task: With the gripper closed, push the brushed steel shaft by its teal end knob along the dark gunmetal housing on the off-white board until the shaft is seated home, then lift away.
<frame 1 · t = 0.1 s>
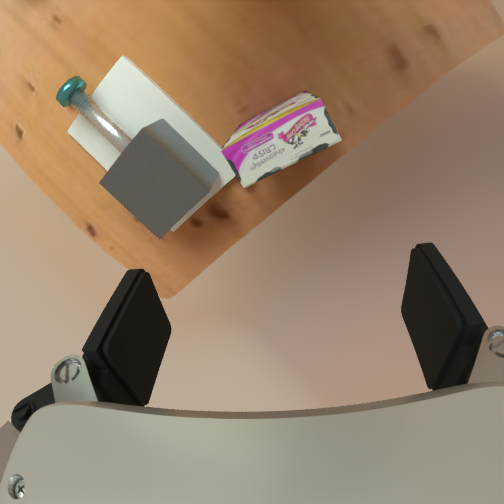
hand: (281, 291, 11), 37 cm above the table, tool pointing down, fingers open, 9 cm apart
shaft housing: (170, 165, 46), resting on mounting board
candy bar box: (278, 119, 42), on the table
mounting board: (148, 144, 45), on the table
steel shaft: (115, 134, 39), point 5 cm above the table, slide at 7.0 cm
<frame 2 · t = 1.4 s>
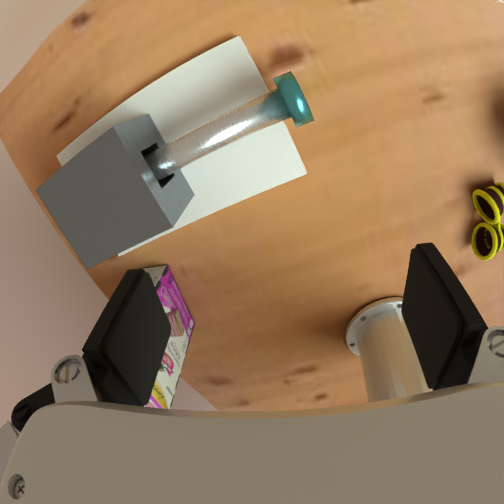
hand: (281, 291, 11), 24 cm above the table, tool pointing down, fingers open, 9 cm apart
shaft housing: (134, 175, 34), resting on mounting board
candy bar box: (169, 295, 44), on the table
mounting board: (167, 155, 33), on the table
steel shaft: (187, 148, 27), point 5 cm above the table, slide at 7.0 cm
opera glasses: (483, 213, 33), on the table
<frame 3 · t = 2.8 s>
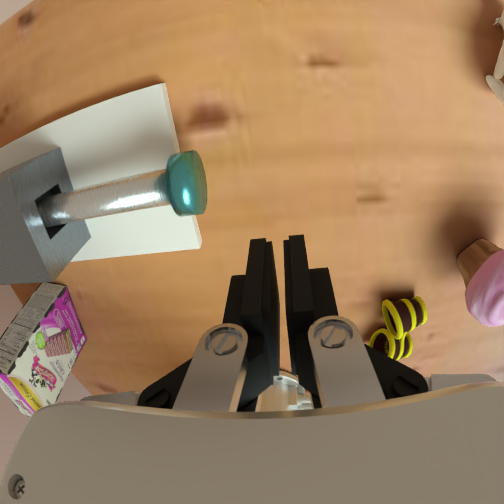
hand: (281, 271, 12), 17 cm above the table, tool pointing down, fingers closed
cupcake: (473, 254, 30), on the table
shaft housing: (44, 199, 30), resting on mounting board
white figurine: (503, 58, 18), on the table
candy bar box: (66, 310, 39), on the table
mounting board: (74, 190, 29), on the table
steel shaft: (78, 204, 24), point 5 cm above the table, slide at 7.0 cm
opera glasses: (392, 318, 36), on the table
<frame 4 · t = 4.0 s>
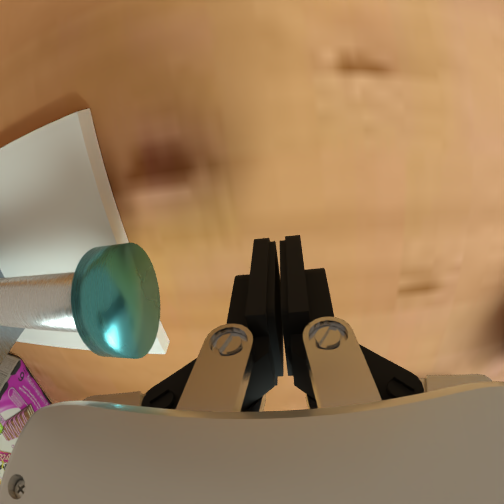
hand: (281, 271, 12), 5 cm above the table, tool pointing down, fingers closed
candy bar box: (28, 379, 29), on the table
mounting board: (2, 261, 19), on the table
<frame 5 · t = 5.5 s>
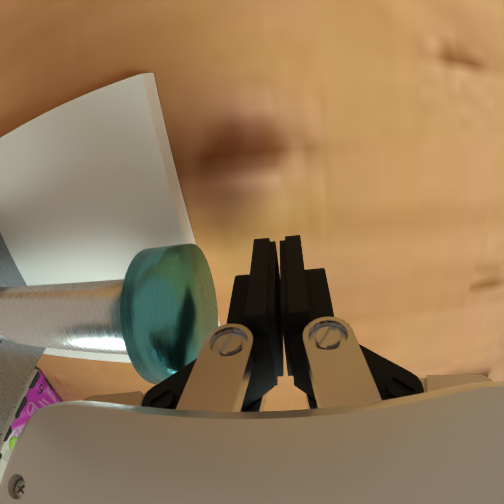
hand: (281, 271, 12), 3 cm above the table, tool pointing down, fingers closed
candy bar box: (46, 389, 27), on the table
mounting board: (21, 262, 17), on the table
steel shaft: (2, 314, 12), point 5 cm above the table, slide at 5.7 cm, touching gripper
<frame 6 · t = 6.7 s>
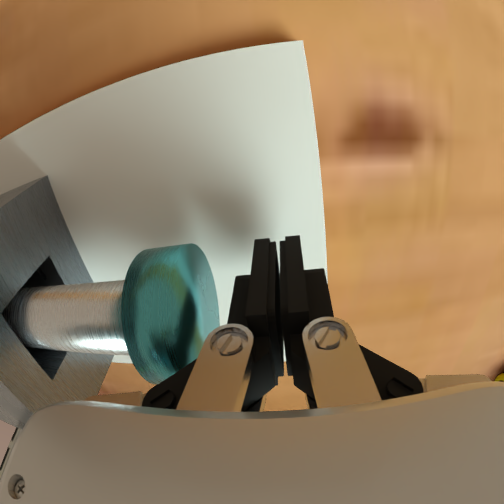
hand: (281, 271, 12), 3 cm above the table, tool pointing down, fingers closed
shaft housing: (30, 263, 17), resting on mounting board
mounting board: (82, 255, 16), on the table
steel shaft: (3, 316, 12), point 5 cm above the table, slide at -0.2 cm, touching gripper
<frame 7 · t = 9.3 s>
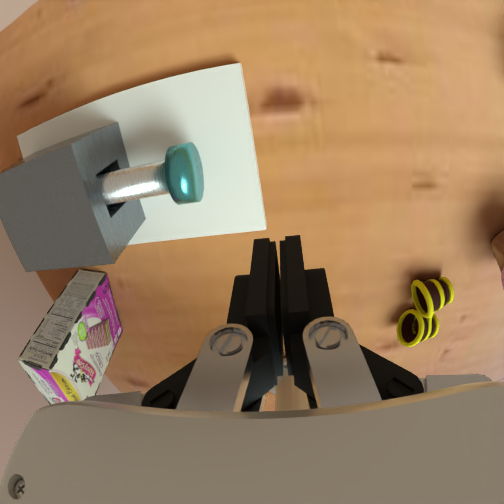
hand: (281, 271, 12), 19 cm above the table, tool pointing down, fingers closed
cupcake: (503, 239, 30), on the table
shaft housing: (89, 179, 30), resting on mounting board
candy bar box: (102, 299, 40), on the table
mounting board: (127, 169, 29), on the table
steel shaft: (81, 194, 25), point 5 cm above the table, slide at 0.0 cm
opera glasses: (419, 299, 37), on the table
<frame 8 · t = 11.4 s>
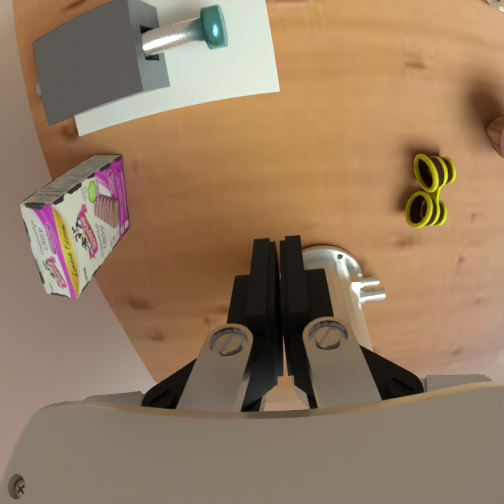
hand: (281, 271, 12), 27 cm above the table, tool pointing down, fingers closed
cupcake: (498, 131, 30), on the table
shaft housing: (121, 60, 30), resting on mounting board
candy bar box: (113, 190, 40), on the table
mounting board: (158, 48, 29), on the table
steel shaft: (118, 54, 25), point 5 cm above the table, slide at 0.0 cm
opera glasses: (423, 184, 36), on the table
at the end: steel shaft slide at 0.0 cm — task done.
